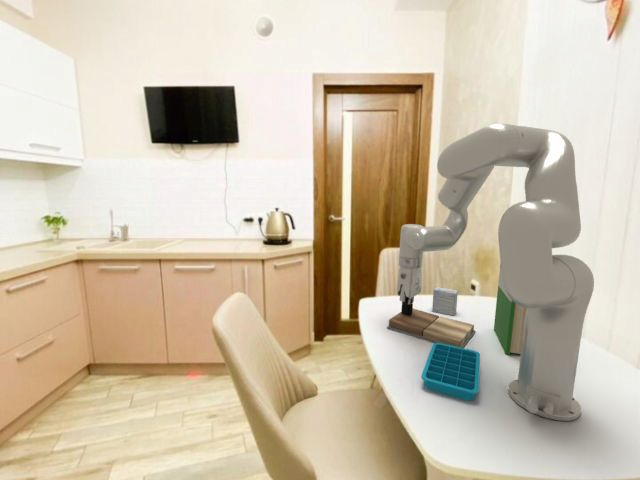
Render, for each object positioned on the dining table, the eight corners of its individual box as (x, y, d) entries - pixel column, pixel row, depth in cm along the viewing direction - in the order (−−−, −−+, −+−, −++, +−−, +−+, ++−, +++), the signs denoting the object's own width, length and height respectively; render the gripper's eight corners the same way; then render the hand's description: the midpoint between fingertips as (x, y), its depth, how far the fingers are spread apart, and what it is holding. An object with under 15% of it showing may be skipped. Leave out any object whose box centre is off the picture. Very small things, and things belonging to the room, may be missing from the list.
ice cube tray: (419, 390, 71) (420, 378, 70) (433, 351, 88) (433, 341, 88) (477, 407, 65) (478, 394, 65) (479, 362, 83) (480, 351, 83)
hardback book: (537, 360, 84) (548, 272, 81) (505, 355, 86) (514, 269, 83) (519, 333, 101) (528, 259, 97) (493, 329, 103) (500, 257, 100)
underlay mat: (461, 351, 88) (461, 349, 88) (386, 328, 102) (386, 326, 102) (475, 332, 100) (475, 330, 100) (407, 314, 115) (407, 312, 115)
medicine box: (456, 312, 117) (458, 290, 116) (454, 316, 114) (456, 293, 112) (434, 308, 122) (436, 286, 120) (431, 311, 118) (433, 289, 117)
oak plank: (460, 348, 89) (460, 341, 88) (422, 336, 95) (423, 330, 95) (473, 330, 100) (474, 324, 100) (439, 321, 107) (440, 316, 107)
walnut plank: (421, 336, 96) (422, 330, 95) (388, 325, 102) (389, 319, 102) (438, 321, 107) (439, 315, 107) (407, 312, 114) (408, 307, 114)
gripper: (412, 267, 96) (408, 324, 99) (429, 259, 108) (425, 310, 111) (389, 263, 101) (386, 317, 104) (408, 256, 112) (405, 305, 115)
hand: (406, 314), depth 107 cm, fingers closed
